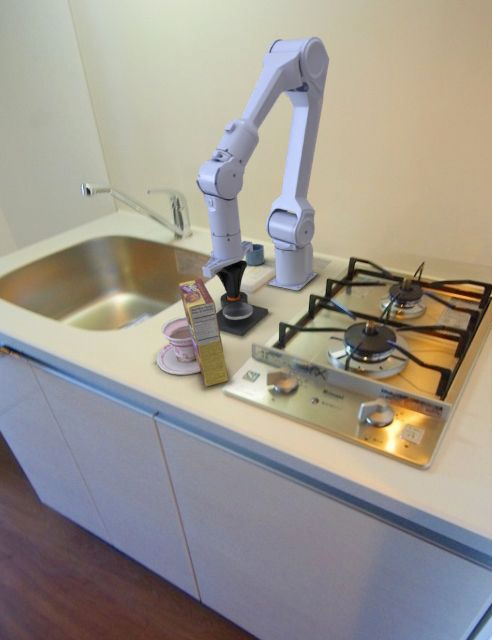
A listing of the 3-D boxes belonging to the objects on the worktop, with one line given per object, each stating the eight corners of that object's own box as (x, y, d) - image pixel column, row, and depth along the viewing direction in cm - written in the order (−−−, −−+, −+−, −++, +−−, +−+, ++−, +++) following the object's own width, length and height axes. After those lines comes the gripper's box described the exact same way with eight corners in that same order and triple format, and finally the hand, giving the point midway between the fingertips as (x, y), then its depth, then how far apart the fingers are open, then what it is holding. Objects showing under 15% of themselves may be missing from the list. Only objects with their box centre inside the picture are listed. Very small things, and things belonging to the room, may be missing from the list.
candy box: (193, 360, 78) (177, 282, 68) (216, 354, 79) (203, 277, 69) (204, 388, 72) (187, 306, 62) (228, 381, 73) (216, 300, 63)
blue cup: (252, 257, 113) (251, 242, 111) (268, 260, 111) (267, 245, 108) (242, 264, 110) (240, 249, 108) (258, 267, 108) (257, 252, 105)
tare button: (232, 299, 93) (232, 292, 92) (243, 302, 91) (242, 294, 90) (225, 305, 91) (224, 297, 90) (236, 308, 90) (235, 300, 89)
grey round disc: (234, 302, 88) (233, 299, 88) (258, 308, 86) (258, 305, 85) (217, 315, 84) (216, 313, 84) (242, 322, 82) (241, 319, 81)
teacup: (233, 347, 81) (229, 318, 77) (196, 383, 73) (190, 353, 69) (183, 334, 86) (177, 306, 82) (143, 366, 78) (135, 337, 74)
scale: (232, 301, 95) (230, 288, 93) (271, 311, 91) (270, 298, 89) (200, 325, 88) (198, 312, 86) (242, 336, 83) (240, 323, 82)
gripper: (230, 217, 88) (237, 279, 96) (185, 241, 78) (197, 307, 87) (259, 221, 84) (263, 284, 93) (215, 247, 75) (225, 315, 84)
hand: (233, 296), depth 90 cm, fingers closed, pressing on tare button
